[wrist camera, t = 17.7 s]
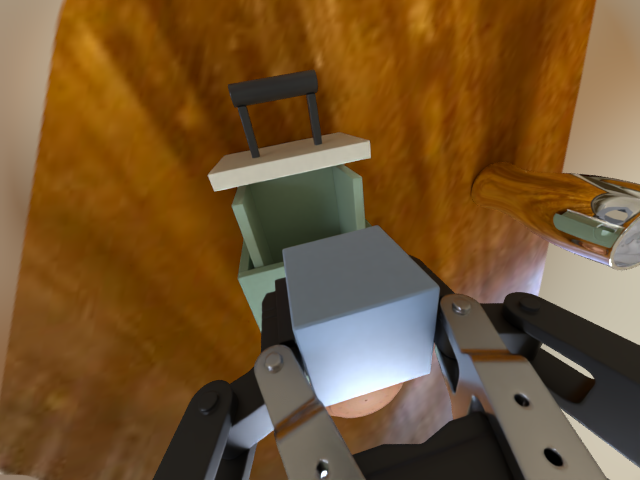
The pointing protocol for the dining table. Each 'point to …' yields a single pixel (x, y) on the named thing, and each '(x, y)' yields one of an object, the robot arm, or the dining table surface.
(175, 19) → the dining table surface
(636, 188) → the metal cup
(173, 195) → the dining table surface
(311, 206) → the drawer
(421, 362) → the block
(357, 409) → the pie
